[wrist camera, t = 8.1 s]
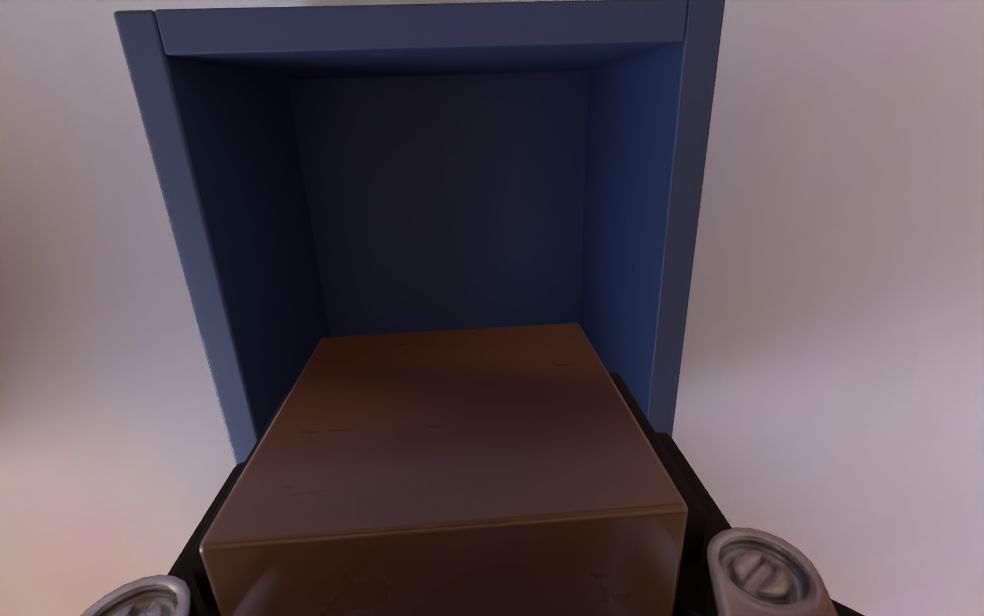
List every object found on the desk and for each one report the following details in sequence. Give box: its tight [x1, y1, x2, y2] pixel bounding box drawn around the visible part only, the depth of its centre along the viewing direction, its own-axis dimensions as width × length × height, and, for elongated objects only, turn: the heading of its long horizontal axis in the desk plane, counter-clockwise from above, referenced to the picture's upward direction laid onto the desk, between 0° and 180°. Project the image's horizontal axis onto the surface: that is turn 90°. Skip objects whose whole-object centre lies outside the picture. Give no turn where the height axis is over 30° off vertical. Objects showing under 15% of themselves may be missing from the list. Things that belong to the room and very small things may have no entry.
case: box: [114, 0, 725, 465], centre depth 19 cm, size 17×14×10 cm
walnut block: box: [199, 323, 688, 616], centre depth 8 cm, size 5×5×5 cm
